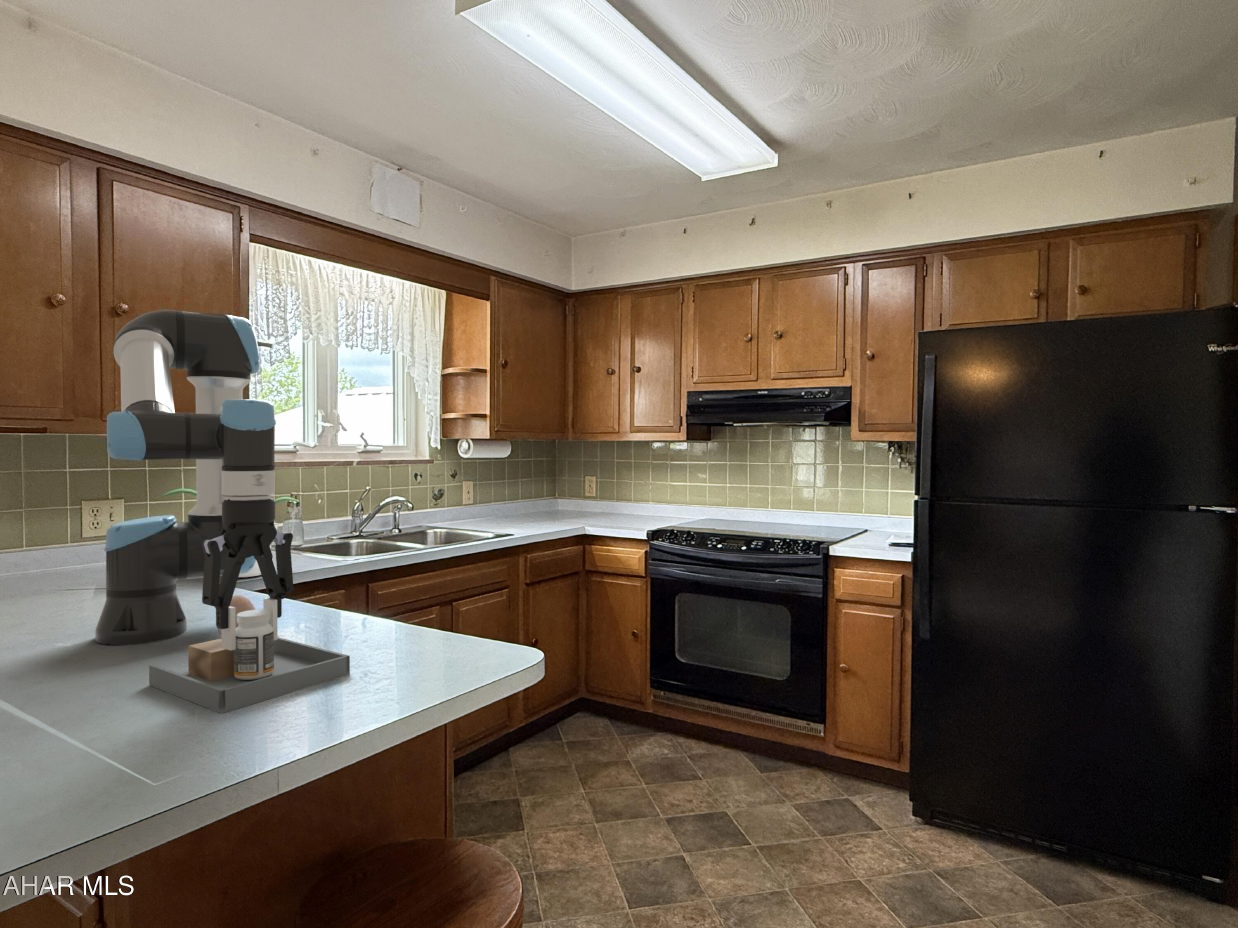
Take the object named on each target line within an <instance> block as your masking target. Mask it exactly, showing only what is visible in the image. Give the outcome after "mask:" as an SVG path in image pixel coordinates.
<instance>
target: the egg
mask: <svg viewBox="0 0 1238 928" xmlns="http://www.w3.org/2000/svg"><path fill="white" fill-rule="evenodd" d="M230 606H232V607H235V620H236V628H237V627H238V626H239V624H238V623H237V614H238V613H240V612H244V611H249V610H256V608H255V606H254V604H253V603H252V601H251V600H250V599H249V598H248V597H246V596H244V595H241V594H237V595H233V597H232V600H231V603H230ZM217 630H218V633H219V635H220V636H221V629H219V628H217Z"/></svg>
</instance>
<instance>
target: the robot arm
mask: <svg viewBox="0 0 1238 928" xmlns="http://www.w3.org/2000/svg"><path fill="white" fill-rule="evenodd" d="M112 349H113V351H112V352H113V358H114V360H115V362H116V363H117V365H118V366H119V367H120V369H119V370H120V410H121V411H112V412H109V413H108V414H107V416H106V449H107V452H106V453H107V455H108V456H109V457H110V458H112V459H115V460H133V461H135V462H136V461H150V460H151V461H154V460H155V461H156V460H159V461H160V460H163V461H164V460H195V466H196V467H195V468H196V470H195V471H196V474H195V475H196V476H195V477H196V480H195V481H196V490H195V491H197V496H196V504H195V505H194V506H193V507H192V508H191V509H190V510H189V511H188V512H187V521H177V518H176V516H175V515H173V514H165V515H157V516H147V517H143V518H135V519H130V520H125V521H122V522H118V523H115V524H113V525H111V526H109V527H108V529H107V530H106V533H105V546H104V549H103V550H104V552H105V590H106V591H105V594H106V595H105V603H104V606H103V609H102V611H101V614H100V616H99V619H98V621H97V625H96V627H95V631H94V632H95V633H94V634H95V642H96V643H98V644H100V643H101V644H100V645H105V644H110V645H109V646H127V645H128V644H132V645H141V644H140V643H142V644H148V643H155V642H159V641H163V640H169V639H172V638H175V637H178V636H180V634H181V635H183V634H184V633H185V631H187V628H188V625H187V624H188V623H187V622H188V621H187V618H186V615H185V613H184V610H183V609H184V608H182V604H181V602H180V600H179V598H178V594H177V581H179V580H189V579H190V580H191V579H200V578H201V579H203V580H202V581H203V582H202V596H201V597H202V598H201V603H202V604H204V605H207V606H211V607H214V608H215V626H216V628H217V629H218V628H219V629H221V635H220V637H221V638H220V639H221V640H222V648H224V649H227V650H235V649H236V620H235V607H232V606H230V603H231V600H232V597H233V596H234V593H235V590H236V587H237V582H238V579H239V577H238V576H239V574H244V573H247V572H249V571H250V570H251V569H252V568H253V567H254V564H255V562H256V560H257V563H258V566H259V569H260V572H261V575H260V576H261V578H262V581H263V584H264V586H265V589H266V593H267V595H268V597H265V598H263V601H262V602H263V603H262V604H263V609H262V610H268V611H270V619H269V621H268V623H269V624H270V625H271V626H272V627H273V629H274V640H278V637H279V636H278V619H280V618H281V617H282V614H283V611H282V609H283V607H282V603H283V602H282V600H284V599H285V598H286V596H287V594H290V593H293V591H294V577H293V563H292V562H293V561H292V550H291V548H292V547H291V546H292V543H293V539H294V535H293V533H292V532H286V531H278V529H277V530H276V528H275V526H274V523H275V521H276V503H275V501H274V500H275V499H274V498H272V496H274V495H275V494H276V479H275V477H276V475H275V474H276V473H275V470H276V469H275V467H276V466H275V449H276V446H275V435H276V427H275V426H276V424H277V423H276V422H277V421H276V419H275V406H274V404H273V403H272V402H271V401H269V400H264V399H252V398H251V399H247V398H246V399H244V397H243V395H244V394H243V393H244V392H243V391H244V388H245V387H246V386H248V385H249V383H251V378H252V377H251V376H252V375H254V374H257V373H259V369H260V361H259V360H260V355H259V353H260V352H259V344H258V340H257V335H256V331H255V329H254V326H253V324H252V323H251V322H250V320H249V319H247V318H245V317H242V316H235V315H231V314H230V315H229V314H220V313H210V312H209V313H208V312H194V311H183V310H174V309H157V310H154V311H148V312H146V313H143V314H141V315H139V316H137V317H135V318H133V319H132V320H130V321H128V322H127V323H126V324H125V325H124V326H123V327H122V328H121V329H120V330H119V331H118V332H117V334H116V336H115V338H114V341H113V348H112ZM170 369H175V370H183V371H184V370H185V371H186V380H187V381H188V382H189V383H191V384H192V385H193V386H194V389H195V413H188V412H184V413H183V412H175V411H176V410H175V403H174V396H173V395H174V394H173V387H172V379H171V370H170ZM273 542H274V544H275V550H274V551H275V562H276V563H275V564H276V566H275V564H274V561H273V558H274V556H273V553H272V550H271V549H272V548H271V549H270V545H271V543H273ZM271 546H272V545H271ZM182 633H183V634H182ZM177 635H178V636H177ZM174 636H175V637H174ZM128 646H129V645H128Z"/></svg>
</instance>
